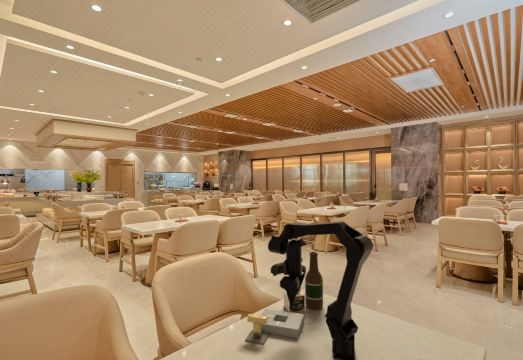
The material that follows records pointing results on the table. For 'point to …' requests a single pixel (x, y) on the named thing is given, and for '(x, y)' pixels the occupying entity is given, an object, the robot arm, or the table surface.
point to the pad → (259, 341)
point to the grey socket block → (283, 323)
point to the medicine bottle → (295, 302)
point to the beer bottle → (313, 285)
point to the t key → (257, 324)
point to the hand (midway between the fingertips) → (294, 298)
